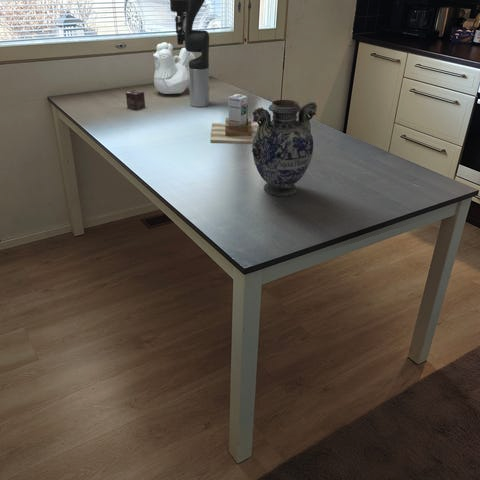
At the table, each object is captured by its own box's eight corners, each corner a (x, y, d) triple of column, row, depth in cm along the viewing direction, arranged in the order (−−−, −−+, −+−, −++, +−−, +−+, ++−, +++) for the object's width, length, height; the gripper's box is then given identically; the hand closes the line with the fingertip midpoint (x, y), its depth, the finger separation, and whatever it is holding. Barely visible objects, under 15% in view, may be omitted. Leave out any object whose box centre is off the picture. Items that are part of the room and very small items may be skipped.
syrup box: (240, 134, 212) (241, 98, 205) (227, 132, 215) (228, 96, 207) (247, 131, 216) (248, 95, 209) (235, 128, 219) (235, 93, 212)
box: (145, 107, 246) (144, 91, 243) (136, 110, 242) (135, 94, 238) (135, 105, 249) (134, 89, 245) (126, 108, 245) (125, 92, 241)
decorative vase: (262, 206, 158) (266, 114, 145) (238, 183, 173) (239, 98, 159) (324, 196, 166) (333, 107, 152) (295, 175, 181) (301, 92, 167)
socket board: (212, 125, 225) (212, 113, 223) (263, 125, 226) (264, 114, 223) (210, 142, 206) (210, 130, 204) (266, 143, 207) (267, 131, 204)
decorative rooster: (159, 99, 259) (157, 46, 246) (149, 91, 271) (146, 40, 259) (206, 94, 269) (206, 42, 256) (194, 87, 281) (193, 37, 269)
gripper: (188, 0, 195) (189, 46, 203) (191, -4, 208) (192, 39, 216) (168, -1, 195) (170, 45, 203) (171, -5, 207) (173, 39, 215)
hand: (181, 42), depth 209 cm, fingers open, 8 cm apart
